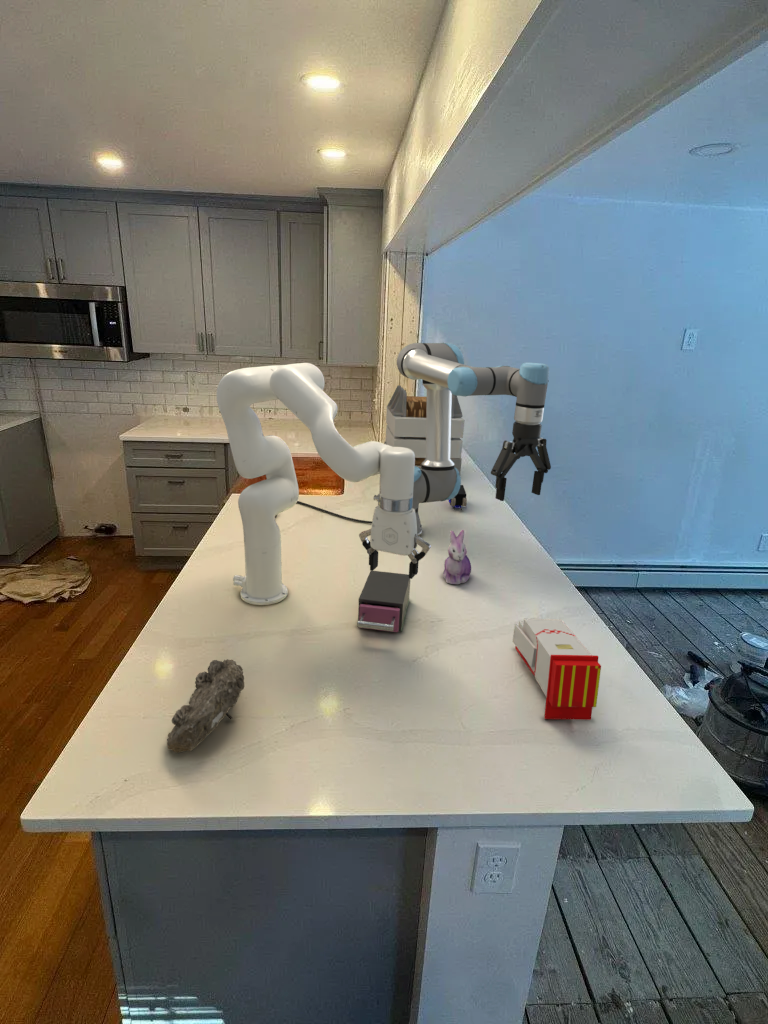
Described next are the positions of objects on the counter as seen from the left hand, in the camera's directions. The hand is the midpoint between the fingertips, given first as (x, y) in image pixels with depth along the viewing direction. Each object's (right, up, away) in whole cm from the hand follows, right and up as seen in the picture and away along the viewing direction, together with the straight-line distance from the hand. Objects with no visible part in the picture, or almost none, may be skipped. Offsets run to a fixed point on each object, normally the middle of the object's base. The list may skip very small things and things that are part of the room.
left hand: (392, 572), depth 132 cm
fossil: (-35, -25, -24) cm, 49 cm away
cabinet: (-2, -12, +15) cm, 20 cm away
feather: (-42, +13, +80) cm, 91 cm away
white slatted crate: (+15, +33, +143) cm, 147 cm away
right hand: (+36, +18, +28) cm, 49 cm away
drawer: (-3, -13, +10) cm, 17 cm away
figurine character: (+27, +16, +98) cm, 103 cm away
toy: (+34, -22, -8) cm, 41 cm away
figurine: (+19, -6, +36) cm, 42 cm away
